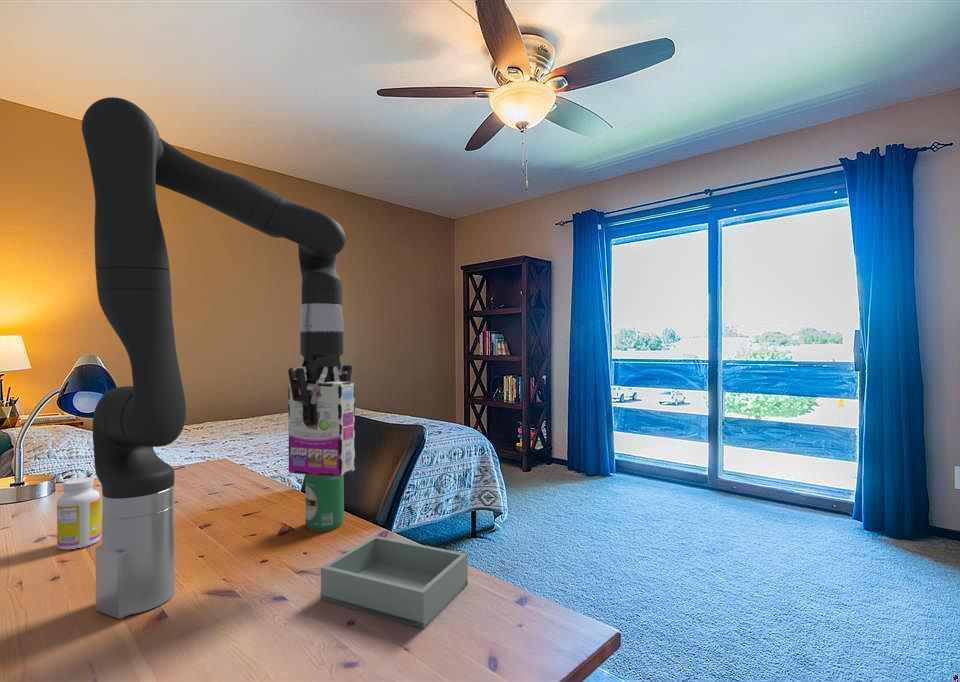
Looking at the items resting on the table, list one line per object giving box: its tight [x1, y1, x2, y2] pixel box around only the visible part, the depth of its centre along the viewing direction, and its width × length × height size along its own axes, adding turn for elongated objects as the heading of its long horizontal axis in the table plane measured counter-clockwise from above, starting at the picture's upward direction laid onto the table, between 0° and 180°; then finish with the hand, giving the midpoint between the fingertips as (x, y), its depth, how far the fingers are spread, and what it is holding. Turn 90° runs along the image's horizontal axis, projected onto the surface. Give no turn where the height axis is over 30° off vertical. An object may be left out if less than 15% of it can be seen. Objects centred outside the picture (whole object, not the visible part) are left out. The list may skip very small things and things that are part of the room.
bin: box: [320, 535, 469, 630], centre depth 77 cm, size 14×19×5 cm
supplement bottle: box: [56, 477, 101, 549], centre depth 97 cm, size 7×7×13 cm
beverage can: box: [304, 474, 345, 533], centre depth 106 cm, size 8×8×12 cm
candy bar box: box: [287, 381, 356, 477], centre depth 88 cm, size 11×5×16 cm, turn 73°
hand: (322, 422), depth 88 cm, fingers closed on candy bar box, 5 cm apart
